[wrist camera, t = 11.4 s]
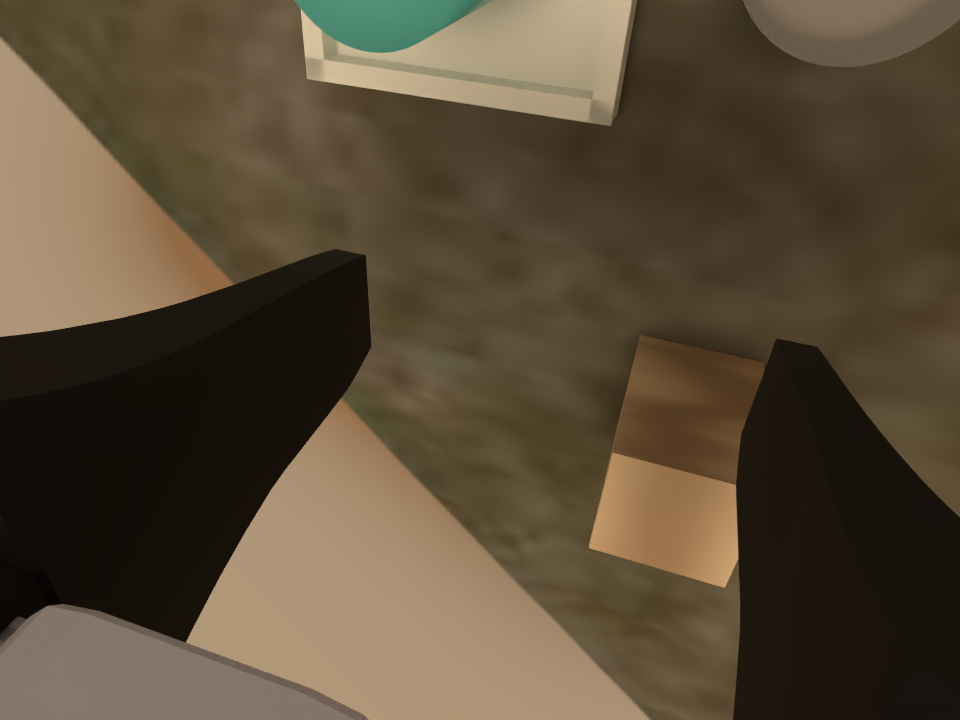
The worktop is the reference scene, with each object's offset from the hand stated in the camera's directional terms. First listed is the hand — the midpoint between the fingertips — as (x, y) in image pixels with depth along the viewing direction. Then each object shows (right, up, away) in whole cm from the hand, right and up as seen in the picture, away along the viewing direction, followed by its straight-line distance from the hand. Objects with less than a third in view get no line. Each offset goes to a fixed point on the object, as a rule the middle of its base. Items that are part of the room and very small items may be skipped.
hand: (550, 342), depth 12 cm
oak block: (+6, -1, +12) cm, 13 cm away
